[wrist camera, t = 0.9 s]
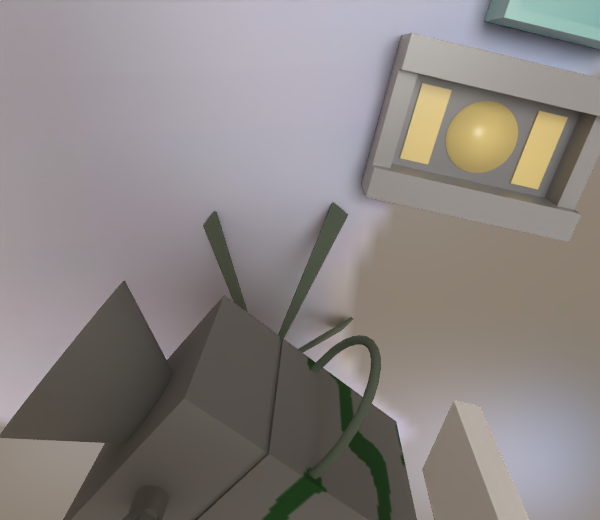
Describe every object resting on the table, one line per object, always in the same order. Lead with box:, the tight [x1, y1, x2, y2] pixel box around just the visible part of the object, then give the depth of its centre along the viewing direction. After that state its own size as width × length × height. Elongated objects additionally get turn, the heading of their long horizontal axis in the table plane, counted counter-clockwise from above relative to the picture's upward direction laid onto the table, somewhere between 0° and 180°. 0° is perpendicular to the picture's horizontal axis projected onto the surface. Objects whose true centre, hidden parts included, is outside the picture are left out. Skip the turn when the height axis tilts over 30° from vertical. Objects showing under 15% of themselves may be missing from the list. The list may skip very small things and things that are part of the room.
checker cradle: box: [361, 33, 600, 242], centre depth 32 cm, size 10×14×4 cm
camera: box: [0, 203, 417, 520], centre depth 27 cm, size 16×16×25 cm
